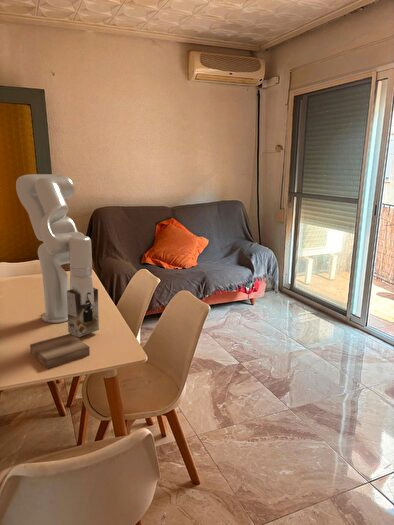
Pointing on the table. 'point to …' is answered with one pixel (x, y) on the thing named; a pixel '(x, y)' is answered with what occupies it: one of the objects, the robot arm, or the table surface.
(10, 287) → the table surface
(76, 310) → the coffee box
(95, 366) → the table surface
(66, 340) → the brownish grey square block
